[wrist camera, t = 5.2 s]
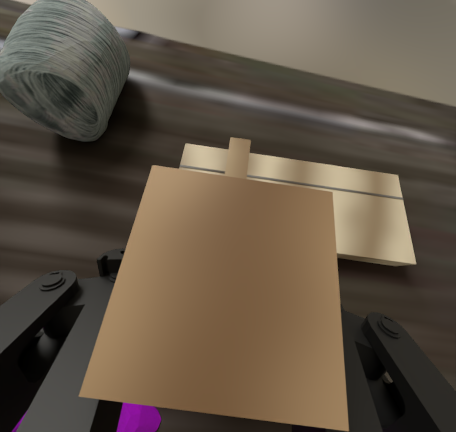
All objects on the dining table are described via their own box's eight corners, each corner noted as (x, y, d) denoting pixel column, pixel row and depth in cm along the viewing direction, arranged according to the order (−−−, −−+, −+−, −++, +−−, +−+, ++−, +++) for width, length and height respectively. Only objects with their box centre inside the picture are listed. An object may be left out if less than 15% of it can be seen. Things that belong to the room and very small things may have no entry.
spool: (110, 146, 17) (-51, -26, 9) (53, 162, 20) (-92, 50, 13) (169, 83, 24) (105, -39, 17) (119, 104, 28) (50, 12, 21)
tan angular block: (186, 306, 16) (78, 396, 3) (210, 174, 20) (203, 5, 8) (244, 314, 16) (349, 431, 3) (256, 181, 20) (321, 24, 8)
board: (169, 234, 18) (163, 228, 16) (188, 155, 21) (185, 143, 19) (395, 266, 18) (417, 264, 16) (381, 184, 21) (398, 174, 19)
